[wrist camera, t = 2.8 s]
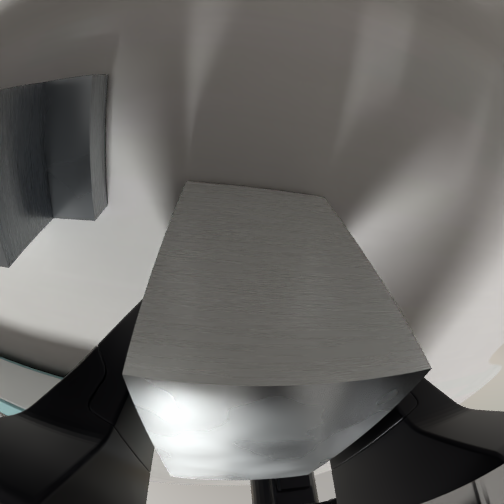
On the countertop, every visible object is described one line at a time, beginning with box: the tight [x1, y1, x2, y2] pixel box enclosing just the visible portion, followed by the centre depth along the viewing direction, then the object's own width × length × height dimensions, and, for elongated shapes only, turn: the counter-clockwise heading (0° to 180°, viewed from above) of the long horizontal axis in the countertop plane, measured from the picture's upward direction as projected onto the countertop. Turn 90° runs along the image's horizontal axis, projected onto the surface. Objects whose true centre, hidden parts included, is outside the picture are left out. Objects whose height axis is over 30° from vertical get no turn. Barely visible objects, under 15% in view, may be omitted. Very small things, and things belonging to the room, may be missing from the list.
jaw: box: [0, 357, 63, 416], centre depth 14 cm, size 11×12×3 cm
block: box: [122, 181, 432, 480], centre depth 7 cm, size 6×4×6 cm, turn 172°
